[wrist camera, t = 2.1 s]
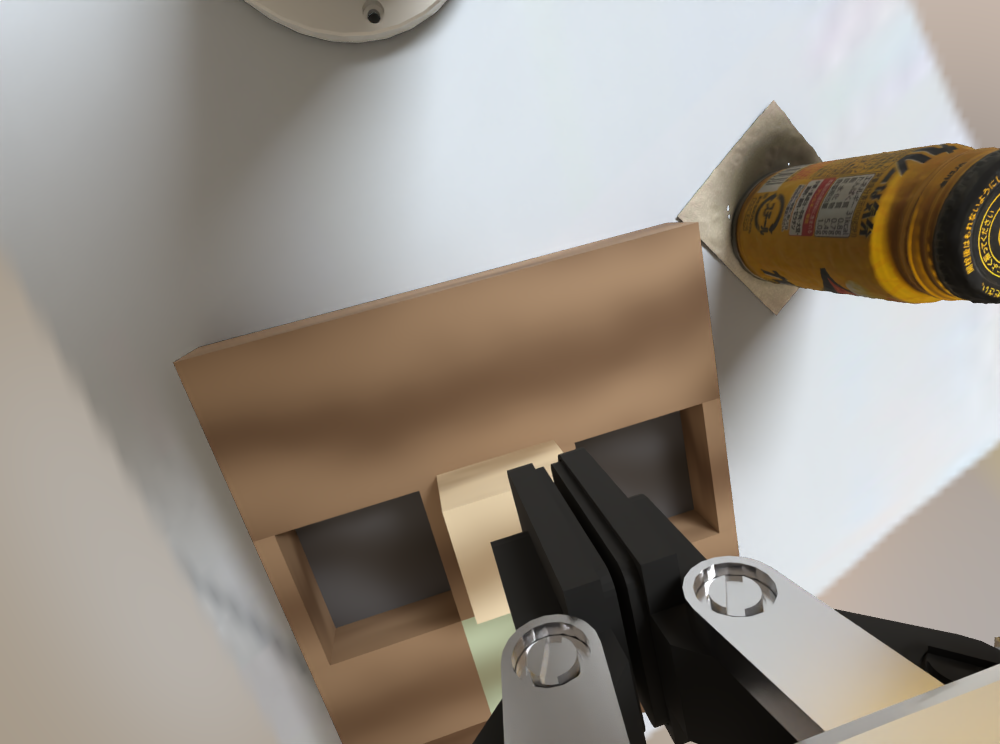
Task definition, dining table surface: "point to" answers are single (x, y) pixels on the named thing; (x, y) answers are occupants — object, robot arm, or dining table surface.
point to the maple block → (486, 520)
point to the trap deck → (456, 453)
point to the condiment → (853, 219)
